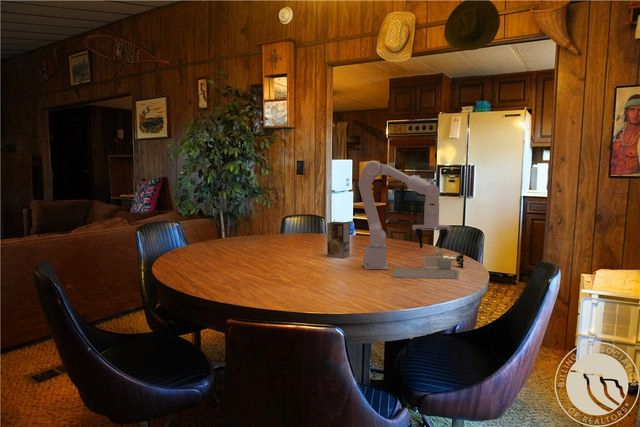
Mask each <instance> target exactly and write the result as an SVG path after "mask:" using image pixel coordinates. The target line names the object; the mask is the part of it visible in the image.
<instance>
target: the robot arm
mask: <svg viewBox="0 0 640 427" xmlns="http://www.w3.org/2000/svg"><path fill="white" fill-rule="evenodd" d="M378 176H390V177H392V178H394V179H397V180H398V181H400V182H403V183H405V184H406V186H407V188H408V189H409V190H412V191H414V192H416V193H418V194H420V195H425V198H424V199H425V201H424V213H423V214H424V215H423V224H412V231H415V234H416V237H417V239H418V244H419V249H423V234H424V232H423V231H439V232H438V233H439V237H438V238H439V241H438V249H440V250H442V248H443V244H444V241H445V239H446V237H447V235H448V232H449V231H451V225H450V224H448V225H447V224H439V222H440V198H439V197H440V196H441V190H440V187H439V186H437V185H436V184H434V183H432V181H430V180H429V181H428V180H426V179H424V178H422V177H421V176H420V175H419V174H417V175H415V174H413V175H408V174H406V173H404V172H403V171H400V170H398V169H397V168H395V167H392V166H390V165H389V164H384V163H381V162H379V161H377V160H370V161H368V162H367V163H365V165H364V167H363V168H362V171H361V174H360V176H359V181H358V185H357V186H358V189H359V193H360V196H361V200H362V204H363V209H364V211H365V212H364V213H365V215H366V219H367V223H368V229H369V231H368V232H369V240H368V241H369V245H366V246H364V248H363V249H364V250H363V255H364V256H363V268H364V269H365V270H388V269H389V268H388V265H387V250H388V249H387V244H386V243H385V242H386V239H387V233H386V232H385V230H384V229H383V227H382V223H381V220H380V218H379V217H380V216H379V213H378V209H377V206H376V202H375V199H374V194H373V191H372V187H371V186H372V183H373V182H374V181H375V179H376V178H377V177H378Z"/></svg>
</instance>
